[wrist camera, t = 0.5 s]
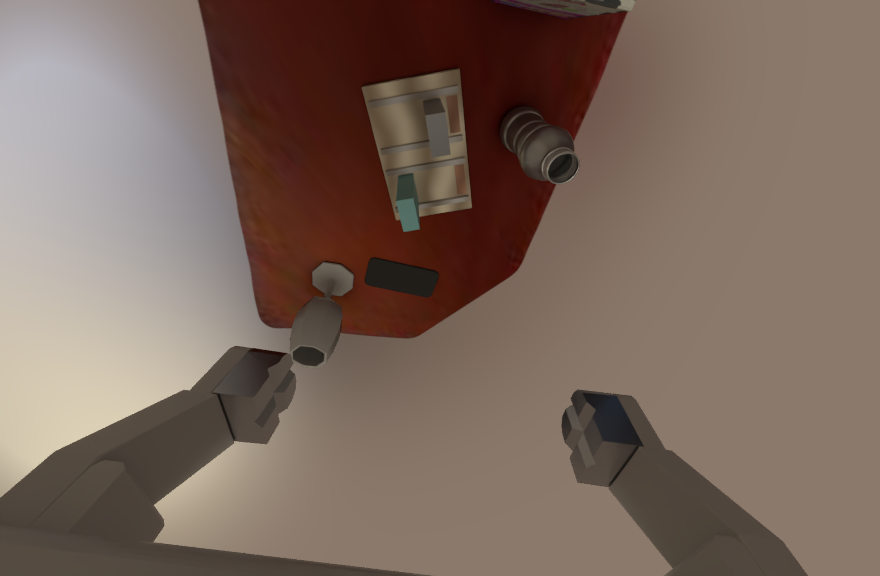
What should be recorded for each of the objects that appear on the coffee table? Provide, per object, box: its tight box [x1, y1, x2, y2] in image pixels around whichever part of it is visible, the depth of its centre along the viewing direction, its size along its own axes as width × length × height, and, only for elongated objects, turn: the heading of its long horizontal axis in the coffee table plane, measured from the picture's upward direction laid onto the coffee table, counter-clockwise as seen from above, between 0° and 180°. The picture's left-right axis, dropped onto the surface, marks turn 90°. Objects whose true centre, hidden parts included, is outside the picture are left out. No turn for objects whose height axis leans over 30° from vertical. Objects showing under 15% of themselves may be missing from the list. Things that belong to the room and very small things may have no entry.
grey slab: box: [423, 98, 451, 158], centre depth 43 cm, size 2×5×10 cm, turn 8°
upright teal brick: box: [396, 174, 420, 232], centre depth 50 cm, size 2×5×10 cm, turn 8°
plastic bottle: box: [500, 106, 580, 184], centre depth 43 cm, size 6×7×20 cm
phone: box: [365, 258, 439, 297], centre depth 68 cm, size 7×1×15 cm
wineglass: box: [290, 262, 354, 368], centre depth 59 cm, size 9×9×21 cm
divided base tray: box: [362, 68, 472, 220], centre depth 51 cm, size 14×21×2 cm, turn 8°
